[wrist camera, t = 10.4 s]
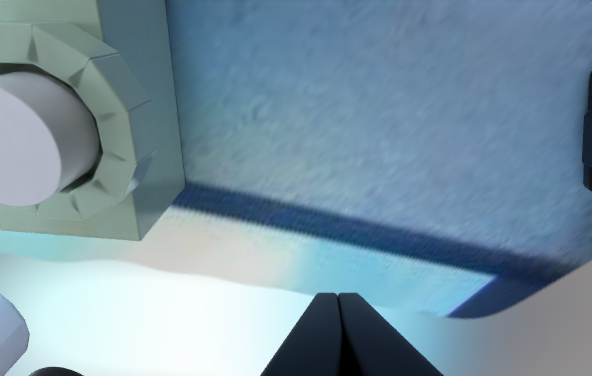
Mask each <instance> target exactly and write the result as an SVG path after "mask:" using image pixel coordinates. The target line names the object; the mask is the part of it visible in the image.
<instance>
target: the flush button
mask: <svg viewBox="0 0 592 376" xmlns="http://www.w3.org/2000/svg"><path fill="white" fill-rule="evenodd" d="M98 151H99V136H98V131H97V127H96V124H95V122H94V119H93V117H92V115H91V113H90V111H89V110H88V108H87V107H86V105H85V104H84V103H83V101H82V100H81V99H80V98H79V97H78V96H77V95H76V94H75V93H74V92H73V91H72V90H71V89H70V88H68V87H67V86H66V85H64V84H63V83H61V82H60V81H58V80H56V79H54V78H52V77H50V76H48V75H45V74H42V73H39V72H35V71H27V70H24V71H14V72H9V73H4V74H0V203H2V204H6V205H11V206H32V205H36V204H39V203H42V202H44V201H46V200H47V199H49V198H50V197H52V196H53V195H55V194H56V193H58V192H59V191H61V190H62V189H64V188H65V187H67V186H68V185H69V184H71V183H72V182H74V181H75V180H77V179H78V178H80V177H81V176H83V175H84V174H86V173H87V172H88V171H89V170H90V169H91V168H92V166H93V165H94V163H95V161H96V159H97V155H98Z"/></svg>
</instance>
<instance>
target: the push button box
mask: <svg viewBox="0 0 592 376" xmlns="http://www.w3.org/2000/svg"><path fill="white" fill-rule="evenodd" d="M24 70H27V71H35V72H39V73H42V74H45V75H48V76H50V77H52V78H54V79H56V80H58V81H60V82H61V83H63V84H64V85H66V86H67V87H68V88H70V89H71V90H72V91H73V92H74V93H75V94H76V95H77V96H78V97H79V98H80V99H81V100H82V101H83V103H84V104H85V105H86V107H87V108H88V110H89V111H90V113H91V115H92V117H93V119H94V122H95V124H96V127H97V131H98V136H99V151H98V155H97V159H96V161H95V163H94V165H93V166H92V168H91V169H90V170H89V171H88V172H87V173H86V174H84V175H83V176H81V177H80V178H78V179H77V180H75V181H74V182H72V183H71V184H69V185H68V186H67V187H65V188H64V189H62V190H61V191H59V192H58V193H56V194H55V195H53V196H52V197H50V198H49V199H47V200H46V201H44V202H42V203H39V204H36V205H32V206H11V205H6V204H2V203H0V230H5V231H18V232H31V233H44V234H57V235H69V236H82V237H95V238H108V239H121V240H133V241H141V240H142V239H143V238H144V236H145V235H146V234H147V233H148V232H149V230H150V229H151V228H152V227H153V225H154V224H155V223H156V222H157V221H158V219H159V218H160V217H161V216H162V215H163V213H164V212H165V211H166V210H167V208H168V207H169V206H170V205H171V204H172V202H173V201H174V200H175V199H176V197H177V196H178V195H179V194H180V193H181V191H182V190H183V189H184V188H185V177H184V168H183V159H182V150H181V141H180V132H179V123H178V114H177V105H176V96H175V87H174V78H173V69H172V60H171V51H170V42H169V33H168V24H167V15H166V6H165V0H0V74H4V73H9V72H14V71H24Z"/></svg>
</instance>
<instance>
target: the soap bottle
mask: <svg viewBox="0 0 592 376" xmlns="http://www.w3.org/2000/svg"><path fill="white" fill-rule="evenodd" d="M29 335H30V334H29V331H28V328H27V325H26V322H25V320H24V318H23V317H22V315H21V314H20V313H19V311H18V310H17V309H16V308H15V306H14V305H13V304H12V303H11V302H10V301H9V300H7V299H6V298H5V297H4V296H2V295H1V294H0V376H4V375H5V374H6V373H7V371H8V370H9V369H10V368H11V367H12V366H13V365H14V364H15V363H16V362H17V360H18V359H19V358H20V357H21V356H22V355H23V353H25V351H26V350H27V347H28V341H29Z"/></svg>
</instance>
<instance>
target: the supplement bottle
mask: <svg viewBox="0 0 592 376" xmlns="http://www.w3.org/2000/svg"><path fill="white" fill-rule="evenodd" d="M29 376H83V375H81V374H79V373H77V372H75V371H72V370H69V369H66V368H61V367H47V368H42V369H39V370H37V371H35V372H33V373H32V374H30V375H29Z"/></svg>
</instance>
